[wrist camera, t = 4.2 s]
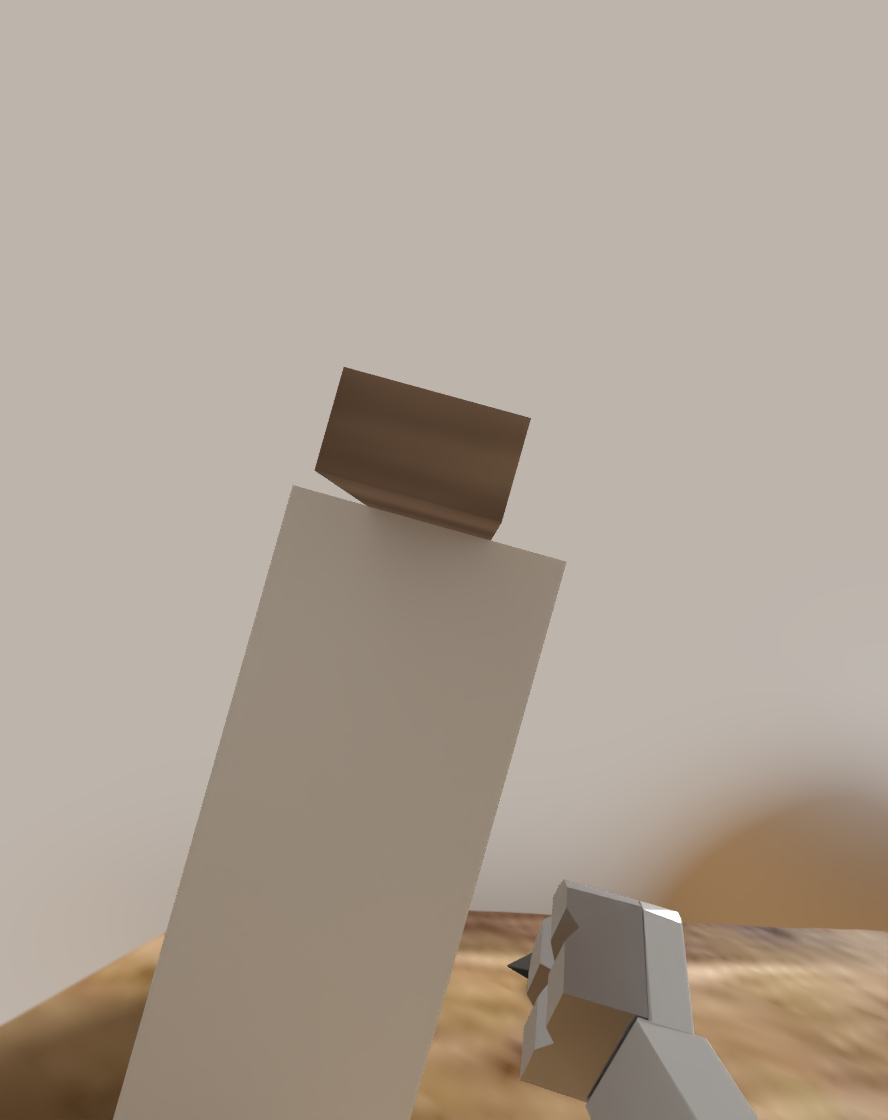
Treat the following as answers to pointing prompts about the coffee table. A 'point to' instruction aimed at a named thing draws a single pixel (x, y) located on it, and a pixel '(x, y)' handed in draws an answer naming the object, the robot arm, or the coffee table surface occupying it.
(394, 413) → the walnut strip
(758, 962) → the coffee table surface
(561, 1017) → the robot arm
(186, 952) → the pedestal
